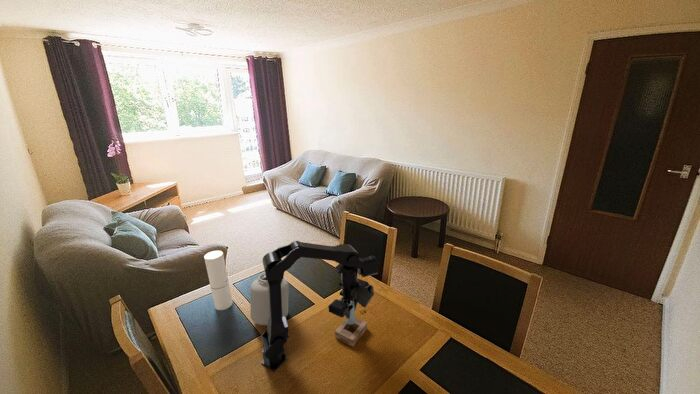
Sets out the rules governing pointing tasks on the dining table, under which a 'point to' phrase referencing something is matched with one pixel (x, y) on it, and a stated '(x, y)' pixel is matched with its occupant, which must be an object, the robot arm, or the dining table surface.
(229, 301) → the cylindrical container
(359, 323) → the socket block
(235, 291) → the dining table surface
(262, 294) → the jar
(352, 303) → the dowel
